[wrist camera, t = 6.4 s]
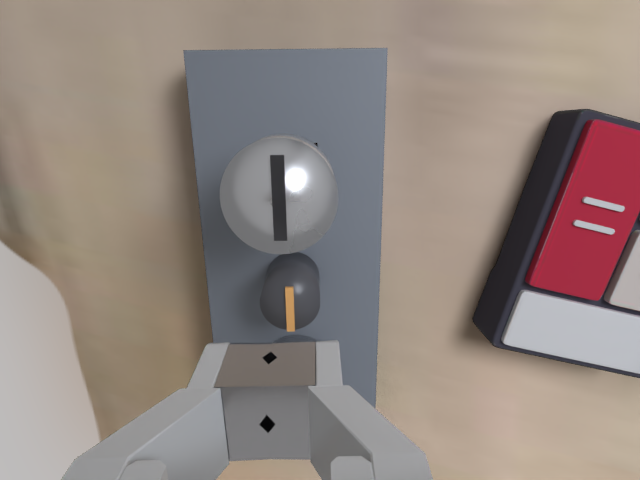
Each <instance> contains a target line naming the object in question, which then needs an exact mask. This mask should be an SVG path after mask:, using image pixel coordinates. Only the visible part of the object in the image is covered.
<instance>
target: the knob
mask: <svg viewBox="0 0 640 480" xmlns="http://www.w3.org/2000/svg"><path fill="white" fill-rule="evenodd" d="M220 204H221V209H222V212H223V215H224V217H225V220H226V222H227V224H228V225H229V227H230V228H231V230H232V231H233V232H234V233H235V235H236V236H237V237H238V238H239V239H241V240H242V241H243V242H244V243H246V244H247V245H249V246H251V247H252V248H255V249H257V250H259V251H262V252H266V253H271V254H291V253H295V252H299V251H302V250H304V249H306V248H308V247H310V246H312V245H313V244H315V243H316V242H317V241H318V240H320V239H321V238H322V237H323V236H324V235H325V233H326V232H327V231H328V229H329V228H330V226H331V224H332V222H333V220H334V218H335V215H336V212H337V207H338V188H337V183H336V180H335V177H334V173H333V170H332V167H331V165H330V162H329V160H328V159H327V157H326V156H325V154H324V153H323V152H322V151H321V149H320V148H319V147H317V146H316V145H315V144H314V143H312V142H311V141H309V140H308V139H306V138H303V137H301V136H298V135H294V134H286V133H280V134H273V135H269V136H266V137H263V138H261V139H260V140H258V141H256V142H254V143H252V144H250V145H248V146H246V147H245V148H243V149H242V150H241V151H239V152H238V153H237V154H236V155H235V156H234V157H233V159H232V160H231V161H230V162H229V164H228V166H227V168H226V169H225V172H224V174H223V177H222V180H221V185H220Z"/></svg>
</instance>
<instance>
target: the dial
mask: <svg viewBox="0 0 640 480" xmlns="http://www.w3.org/2000/svg"><path fill="white" fill-rule="evenodd" d="M260 308H261V311H262V314H263V315H264V317H265V318H266V320H267V321H268V322H269V323H271V324H272V325H274V326H276V327H278V328H280V329H285V330H287V332H295V330H296V329H300V328H303V327H305V326H307V325H309V324H310V323H311V322H312V321H313V320H314V319H315V318H316V316H317V314H318V312H319V309H320V280H319V270H318V267H317V265H316V263H315V262H314V261H313V260H312V259H311V258H310V257H309V256H307V255H305V254H303V253H300V252H295V253H291V254H281V255H279V256H278V257H276V258H275V259H274V260H273V261H272V263H271V264H270V266H269V269H268V272H267V275H266V279H265V282H264V286H263V289H262V293H261V296H260Z"/></svg>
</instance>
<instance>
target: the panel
mask: <svg viewBox="0 0 640 480" xmlns="http://www.w3.org/2000/svg"><path fill="white" fill-rule="evenodd" d="M183 51H184V61H185V70H186V80H187V90H188V100H189V110H190V119H191V129H192V139H193V149H194V159H195V168H196V178H197V188H198V198H199V208H200V218H201V227H202V237H203V247H204V257H205V267H206V276H207V286H208V296H209V306H210V316H211V325H212V335H213V343H226V342H229V343H272V342H274V341H275V340H277V339H279V338H281V337H284V336H288V335H305V336H308V337H311V338H314V339H315V340H317V341H330V340H338V342H339V349H340V361H341V372H342V383H343V385H349V386H351V387H352V388H353V389H354V390H355V391H356V392H357V393H358V394H359V395H361V396H362V397H363V398H364V399H365V400H366V401H367V402H368V403H370V404H371V405H372V406H373V407H374V408H375V404H376V374H377V345H378V315H379V285H380V256H381V226H382V196H383V167H384V137H385V108H386V78H387V48H347V49H259V50H183ZM280 133H286V134H294V135H298V136H301V137H303V138H306V139H308V140H309V141H311V142H312V143H317V147H319V148H320V149H321V151H322V152H323V153H324V154H325V156H326V157H327V159H328V160H329V162H330V165H331V167H332V170H333V173H334V177H335V180H336V183H337V188H338V207H337V212H336V215H335V218H334V220H333V222H332V224H331V226H330V228H329V229H328V231H327V232H326V233H325V235H324V236H323V237H322V238H321V239H320V240H318V241H317V242H316V243H315V244H313V245H312V246H310V247H308V248H306V249H304V250H302V251H299V252H300V253H303V254H305V255H307V256H309V257H310V258H311V259H312V260H313V261H314V262H315V263H316V265H317V267H318V270H319V280H320V309H319V312H318V314H317V316H316V318H315V319H314V320H313V321H312V322H311V323H310V324H309V325H307V326H305V327H303V328H300V329H296V330H295V332H287V330H285V329H280V328H278V327H276V326H274V325H272V324H271V323H269V322H268V321H267V320H266V318H265V317H264V315H263V314H262V311H261V308H260V296H261V293H262V289H263V286H264V282H265V279H266V275H267V272H268V269H269V266H270V264H271V263H272V261H273V260H274V259H275V258H276V257H278V256H279V255H281V254H271V253H266V252H262V251H259V250H257V249H255V248H252V247H251V246H249V245H247V244H246V243H244V242H243V241H242V240H241V239H239V238H238V237H237V236H236V235H235V233H234V232H233V231H232V230H231V228H230V227H229V225H228V224H227V222H226V220H225V217H224V215H223V212H222V209H221V204H220V185H221V180H222V177H223V174H224V172H225V169H226V168H227V166H228V164H229V162H230V161H231V160H232V159H233V157H234V156H235V155H236V154H237V153H238V152H239V151H241V150H242V149H243V148H245V147H246V146H248V145H250V144H252V143H254V142H256V141H258V140H260V139H261V138H263V137H266V136H269V135H273V134H280Z"/></svg>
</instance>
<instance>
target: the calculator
mask: <svg viewBox="0 0 640 480" xmlns="http://www.w3.org/2000/svg"><path fill="white" fill-rule="evenodd" d="M473 323H474V324H475V325H476V326H477V327H478V329H479V330H480V331H481V332H482V333H483V334H484V335H485V337H486V338H487V339H488V340H489V341H490V342H491V343H492V345H493V346H495V347H498V348H502V349H507V350H511V351H516V352H521V353H525V354H530V355H535V356H539V357H544V358H548V359H553V360H558V361H562V362H567V363H572V364H576V365H581V366H586V367H590V368H595V369H600V370H604V371H609V372H613V373H618V374H623V375H627V376H632V377H637V378H640V123H638V122H634V121H631V120H627V119H623V118H620V117H616V116H612V115H609V114H605V113H602V112H598V111H594V110H590V109H578V110H566V111H558V112H556V113H555V114H554V115H553V116H552V118H551V121H550V123H549V126H548V128H547V131H546V133H545V136H544V139H543V141H542V144H541V146H540V149H539V151H538V154H537V156H536V159H535V161H534V164H533V167H532V169H531V172H530V174H529V177H528V179H527V182H526V184H525V187H524V190H523V193H522V195H521V198H520V201H519V203H518V206H517V209H516V212H515V214H514V217H513V220H512V223H511V225H510V228H509V231H508V233H507V236H506V239H505V242H504V244H503V247H502V250H501V253H500V255H499V258H498V261H497V263H496V266H495V267H494V268H493V269H492V271H491V273H490V275H489V278H488V280H487V283H486V285H485V288H484V290H483V293H482V295H481V298H480V301H479V303H478V306H477V308H476V311H475V313H474V316H473Z"/></svg>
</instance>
